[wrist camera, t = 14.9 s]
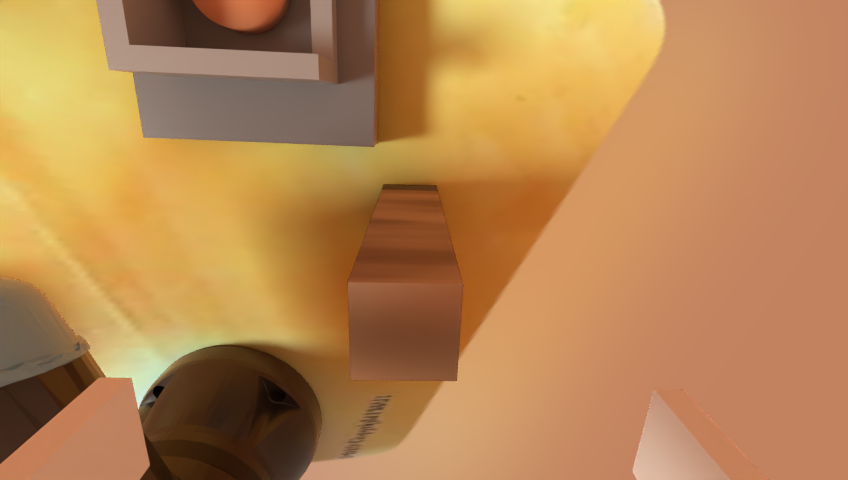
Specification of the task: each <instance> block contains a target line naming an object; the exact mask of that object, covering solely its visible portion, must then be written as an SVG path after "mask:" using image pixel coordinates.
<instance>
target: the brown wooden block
mask: <svg viewBox="0 0 848 480" xmlns="http://www.w3.org/2000/svg"><path fill="white" fill-rule="evenodd" d="M462 295H463V282H462V278H461V274H460V271H459V267H458V263H457V260H456V256H455V252H454V249H453V245H452V241H451V238H450V234H449V230H448V227H447V223H446V219H445V216H444V212H443V208H442V205H441V201H440V197H439V194H438V190H437V186H427V185H388V184H384V185H383V188H382V190H381V193H380V196H379V199H378V201H377V204H376V207H375V209H374V212H373V215H372V218H371V220H370V223H369V226H368V228H367V231H366V234H365V237H364V239H363V242H362V245H361V247H360V250H359V253H358V256H357V258H356V261H355V264H354V266H353V269H352V272H351V275H350V277H349V280H348V310H349V344H350V377H351V380H406V381H457V370H458V355H459V340H460V325H461V310H462Z"/></svg>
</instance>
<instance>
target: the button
mask: <svg viewBox="0 0 848 480" xmlns="http://www.w3.org/2000/svg"><path fill="white" fill-rule="evenodd" d="M192 1H193V2H194V4H195V5H196V6H197V7H198V9H199V10H200V11H201V12H202V13H203V14H204V15H205V16H206V17H208V18H209V19H211V20H212V21H214V22H215V23H217V24H220V25H222V26H224V27H227V28H229V29H232V30H234V31H237V32H240V33H244V34H260V33H263V32H266V31H268V30H270V29H272V28H273V27H275V26H276V25H277V24H278V23H279V22H280V21H281V20H282V18H283V17H284V15H285V13H286V11H287V9H288V6H289V2H290V0H192Z"/></svg>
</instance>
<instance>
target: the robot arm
mask: <svg viewBox="0 0 848 480" xmlns="http://www.w3.org/2000/svg"><path fill="white" fill-rule="evenodd" d="M89 349H90V346H89V345H88V343H87V342H86V340H85V339H83V338H82V337H81V336H79V335H76V334H75V333H74V332H73V330H72V329H71V328H70V327H69V325H68V324H67V323H66V322H65V320H64V319H63V318H62V317H61V315H60V314H59V313H58V311H57V310H56V309H55V308H54V306H53V305H52V304H51V303H50V301H49V300H48V299H47V298H46V296H45V295H44V294H43V293H42V292H41V291H40V290H39V289H38V288H36V287H35V286H33V285H31V284H29V283H27V282H24V281H21V280H18V279H14V278H7V277H0V480H299V479H300V478H301V477H302V475H303V474H304V473H305V471H306V469H307V468H308V466H309V464H310V462H311V460H312V458H313V456H314V453H315V450H316V446H317V443H318V439H319V436H320V431H321V412H320V408H319V404H318V401H317V399H316V397H315V395H314V393H313V391H312V389H311V388H310V386H309V385H308V384H307V382H306V381H305V380H304V379H303V378H302V377H301V376H300V375H299V374H298V373H297V372H296V371H295V370H294V369H292V368H291V367H290V366H288V365H287V364H285V363H284V362H282V361H281V360H279V359H277V358H275V357H273V356H271V355H268V354H266V353H263V352H260V351H257V350H253V349H249V348H244V347H236V346H217V347H209V348H205V349H201V350H197V351H194V352H192V353H189V354H187V355H185V356H183V357H181V358H180V359H178V360H177V361H175V362H174V363H173V364H172V365H170V366H169V367H168V368H167V369H166V370H165V371H164V373H163V374H162V375H161V376H160V377H159V378H158V379H157V380H156V381H155V382H154V383H153V385H152V386H151V387H150V388H149V390H148V391H147V393H146V394H145V396H144V398H143V400H142V402H141V404H140V407H139V409H138V407H137V402H136V397H135V393H134V388H133V383H132V378H106V376H105V375H104V373H103V372H102V370H101V369H100V367H99V366H98V365H97V363H96V362H95V360H94V359H93V357H92V356H91V354H90V353H89V351H88V350H89ZM632 472H633V473H634V475H635V477H636V478H637V480H768V479H767V478H766V477H765V476H764V475H763V474H762V473H761V472H760V471H759V470H758V468H757V467H756V466H755V465H754V464H753V463H752V462H751V461H750V460H749V459H748V458H747V457H746V456H745V455H744V454H743V452H742V451H741V450H740V449H739V448H738V447H737V446H736V445H735V444H734V443H733V442H732V441H731V440H730V439H729V438H728V437H727V435H726V434H724V432H723V431H722V430H721V429H720V428H719V427H718V426H717V425H716V424H715V423H714V422H713V421H712V420H711V419H710V417H709V416H707V414H706V413H705V412H704V411H703V410H702V409H701V408H700V407H699V406H698V405H697V404H696V403H695V402H694V400H692V398H691V397H690V396H689V395H688V394H687V393H686V392H685V391H684V390H683V389H654V390H653V394H652V398H651V402H650V406H649V409H648V413H647V417H646V421H645V425H644V429H643V433H642V436H641V440H640V444H639V448H638V452H637V455H636V459H635V463H634V467H633V471H632Z"/></svg>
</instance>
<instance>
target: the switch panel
mask: <svg viewBox="0 0 848 480" xmlns="http://www.w3.org/2000/svg"><path fill="white" fill-rule="evenodd" d="M96 1H97V7H98V12H99V18H100V23H101V28H102V34H103V39H104V45H105V50H106V56H107V61H108V67H109V70H115V71H124V72H133V77H134V83H135V89H136V95H137V101H138V107H139V113H140V119H141V125H142V131H143V137H147V138H171V139H196V140H220V141H244V142H268V143H293V144H317V145H341V146H365V147H374V146H375V145H376V144H377V143H378V41H379V0H290V2H289V6H288V9H287V11H286V13H285V15H284V17H283V18H282V20H281V21H280V22H279V23H278V24H277V25H276V26H275V27H273V28H272V29H270V30H268V31H266V32H263V33H260V34H244V33H240V32H237V31H234V30H232V29H229V28H227V27H224V26H222V25H220V24H217V23H215V22H214V21H212V20H211V19H209V18H208V17H206V16H205V15H204V14H203V13H202V12H201V11H200V10H199V9H198V7H197V6H196V5H195V4H194V2H193V1H192V0H96Z"/></svg>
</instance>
